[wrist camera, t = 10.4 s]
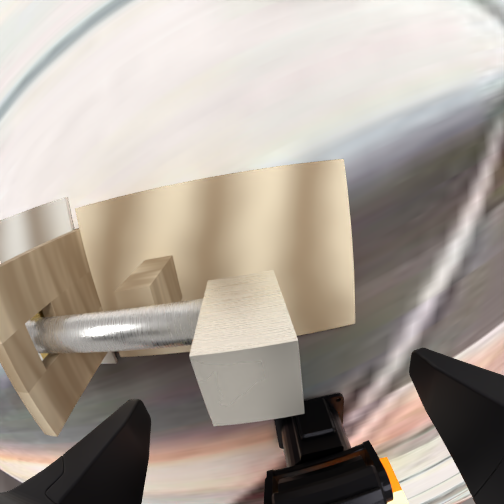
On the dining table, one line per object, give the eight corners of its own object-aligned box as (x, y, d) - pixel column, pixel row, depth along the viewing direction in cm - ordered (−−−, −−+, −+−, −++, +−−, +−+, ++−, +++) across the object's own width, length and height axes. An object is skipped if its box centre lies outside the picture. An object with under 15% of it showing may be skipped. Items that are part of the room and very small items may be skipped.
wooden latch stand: (336, 145, 19) (440, 124, 8) (350, 328, 23) (416, 429, 12) (-7, 223, 19) (-100, 259, 8) (41, 361, 23) (-17, 435, 11)
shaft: (273, 269, 14) (298, 340, 8) (281, 327, 14) (304, 413, 9) (-28, 311, 14) (-78, 349, 8) (-12, 348, 14) (-56, 391, 9)
